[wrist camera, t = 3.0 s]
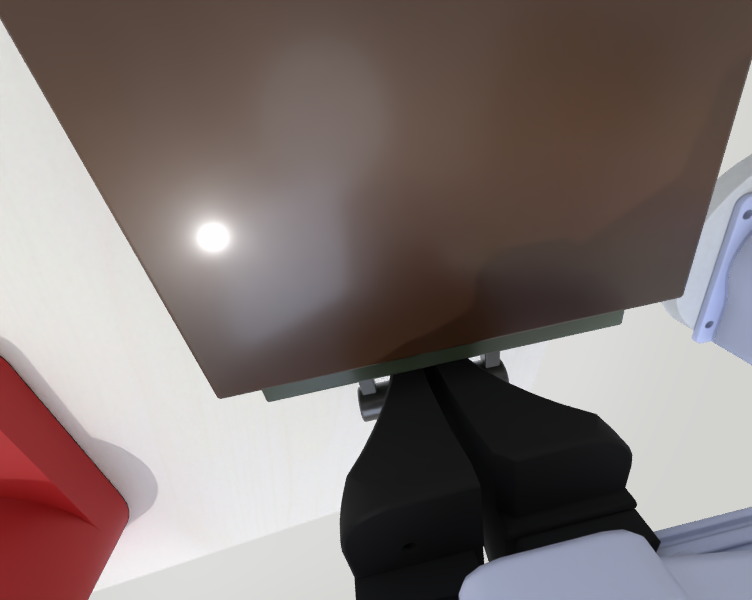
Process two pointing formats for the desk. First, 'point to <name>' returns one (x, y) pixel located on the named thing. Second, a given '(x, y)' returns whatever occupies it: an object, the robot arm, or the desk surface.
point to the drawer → (437, 363)
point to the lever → (50, 503)
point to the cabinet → (392, 162)
